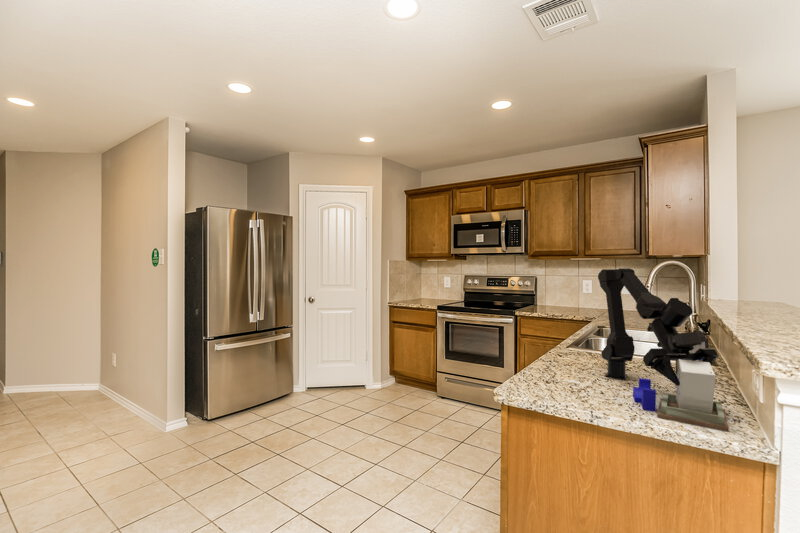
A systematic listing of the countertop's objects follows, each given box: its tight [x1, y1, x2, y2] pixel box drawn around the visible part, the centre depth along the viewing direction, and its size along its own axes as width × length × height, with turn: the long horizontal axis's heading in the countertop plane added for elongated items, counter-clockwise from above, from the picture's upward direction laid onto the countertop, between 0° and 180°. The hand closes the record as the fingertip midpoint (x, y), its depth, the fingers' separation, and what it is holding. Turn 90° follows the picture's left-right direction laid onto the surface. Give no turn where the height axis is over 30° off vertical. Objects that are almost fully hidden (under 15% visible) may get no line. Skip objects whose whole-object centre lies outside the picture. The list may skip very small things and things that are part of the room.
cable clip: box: [632, 377, 657, 412], centre depth 119 cm, size 12×4×6 cm, turn 155°
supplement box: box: [675, 359, 717, 414], centre depth 109 cm, size 7×7×13 cm
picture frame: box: [656, 392, 730, 432], centre depth 110 cm, size 15×15×3 cm
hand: (695, 384), depth 109 cm, fingers closed on supplement box, 9 cm apart
